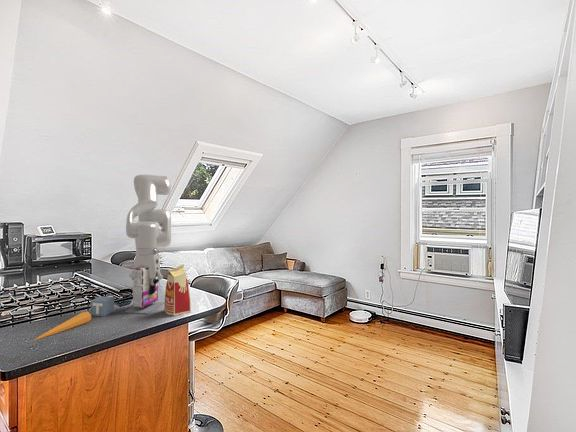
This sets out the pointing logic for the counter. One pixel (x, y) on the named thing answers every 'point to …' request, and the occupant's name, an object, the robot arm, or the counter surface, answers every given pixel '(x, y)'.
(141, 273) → the candy bar box
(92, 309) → the letter cube
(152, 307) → the mat
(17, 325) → the counter surface
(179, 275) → the milk carton
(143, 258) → the robot arm
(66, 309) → the counter surface
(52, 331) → the carrot
